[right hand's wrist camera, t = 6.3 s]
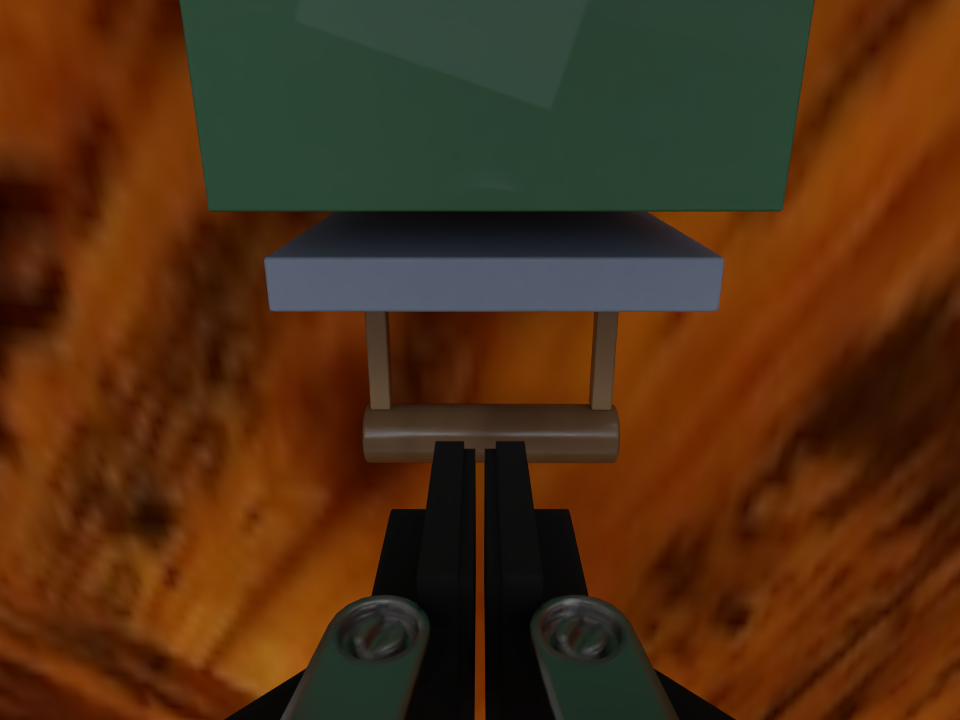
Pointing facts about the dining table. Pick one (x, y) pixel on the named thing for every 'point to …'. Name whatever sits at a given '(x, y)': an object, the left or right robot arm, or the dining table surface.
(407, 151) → the cabinet
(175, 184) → the dining table surface
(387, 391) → the drawer
